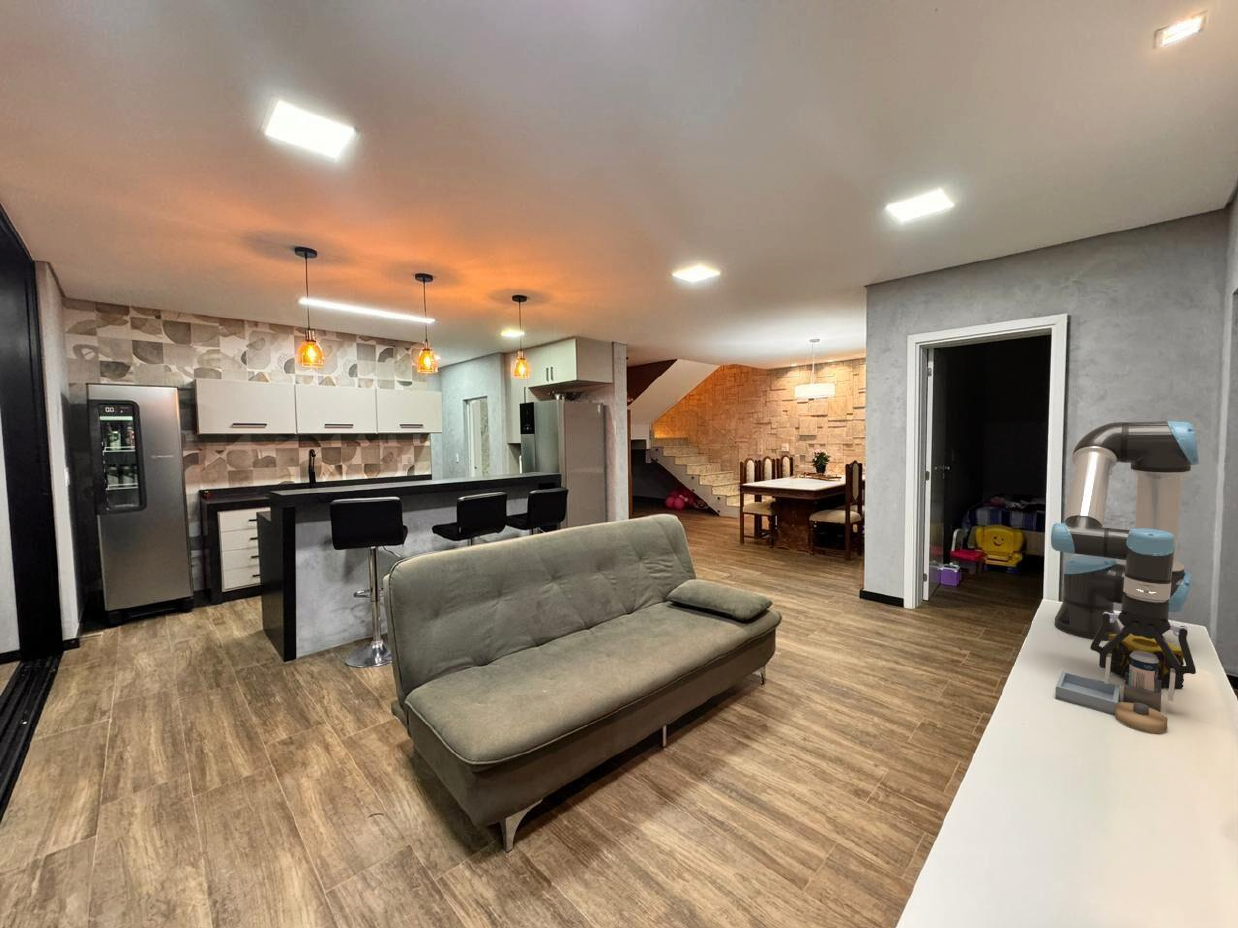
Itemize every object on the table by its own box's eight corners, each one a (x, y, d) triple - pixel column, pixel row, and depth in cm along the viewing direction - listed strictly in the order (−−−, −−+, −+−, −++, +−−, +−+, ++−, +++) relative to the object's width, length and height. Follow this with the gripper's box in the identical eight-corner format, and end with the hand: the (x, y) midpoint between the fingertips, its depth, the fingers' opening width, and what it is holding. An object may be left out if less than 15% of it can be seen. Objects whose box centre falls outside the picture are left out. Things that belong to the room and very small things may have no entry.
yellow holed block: (1147, 669, 136) (1149, 633, 135) (1185, 689, 126) (1187, 650, 125) (1105, 669, 137) (1106, 632, 136) (1139, 688, 127) (1141, 649, 126)
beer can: (1162, 710, 117) (1165, 659, 116) (1137, 708, 118) (1140, 658, 117) (1145, 699, 122) (1148, 650, 121) (1121, 697, 123) (1124, 648, 122)
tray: (1061, 682, 131) (1061, 670, 131) (1119, 697, 123) (1120, 685, 123) (1055, 698, 124) (1055, 686, 123) (1116, 715, 116) (1117, 702, 116)
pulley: (1116, 708, 119) (1116, 691, 118) (1166, 722, 113) (1167, 704, 113) (1113, 723, 113) (1114, 705, 113) (1167, 738, 107) (1168, 720, 107)
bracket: (1124, 691, 126) (1125, 671, 125) (1160, 700, 121) (1161, 680, 121) (1122, 706, 119) (1123, 686, 119) (1160, 717, 115) (1161, 695, 114)
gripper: (1078, 589, 124) (1072, 678, 126) (1221, 614, 108) (1211, 716, 110) (1082, 582, 129) (1075, 667, 131) (1219, 605, 113) (1209, 702, 115)
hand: (1137, 689), depth 121 cm, fingers open, 10 cm apart
